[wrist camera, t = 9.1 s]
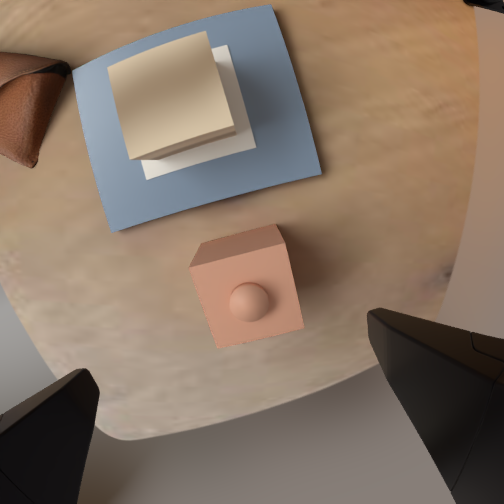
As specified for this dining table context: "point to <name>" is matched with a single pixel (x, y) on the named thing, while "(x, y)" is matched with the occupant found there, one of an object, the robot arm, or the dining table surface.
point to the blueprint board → (215, 153)
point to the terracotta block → (246, 286)
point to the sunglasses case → (27, 103)
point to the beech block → (170, 99)
